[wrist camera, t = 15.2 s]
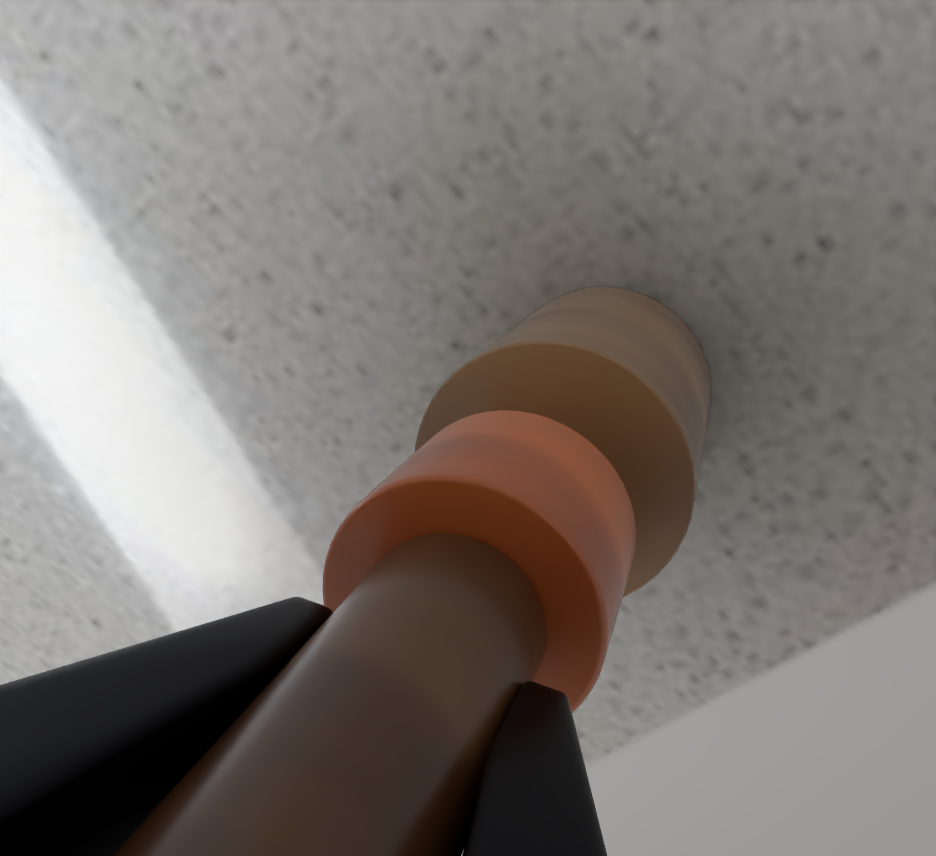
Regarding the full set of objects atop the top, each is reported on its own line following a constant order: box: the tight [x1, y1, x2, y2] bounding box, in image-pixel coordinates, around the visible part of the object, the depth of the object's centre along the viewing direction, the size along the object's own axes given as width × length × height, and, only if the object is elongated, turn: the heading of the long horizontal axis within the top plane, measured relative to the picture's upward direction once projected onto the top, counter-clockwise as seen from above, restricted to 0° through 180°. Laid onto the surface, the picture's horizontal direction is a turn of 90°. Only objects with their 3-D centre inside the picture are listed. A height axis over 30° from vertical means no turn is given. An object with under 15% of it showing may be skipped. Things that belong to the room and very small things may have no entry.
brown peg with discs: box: [112, 410, 636, 856], centre depth 8 cm, size 3×3×8 cm
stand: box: [415, 287, 711, 597], centre depth 16 cm, size 4×4×6 cm
